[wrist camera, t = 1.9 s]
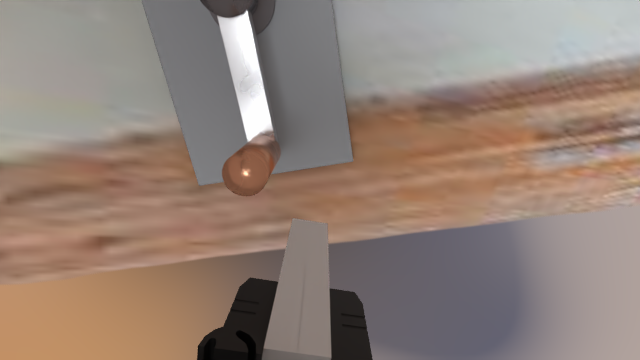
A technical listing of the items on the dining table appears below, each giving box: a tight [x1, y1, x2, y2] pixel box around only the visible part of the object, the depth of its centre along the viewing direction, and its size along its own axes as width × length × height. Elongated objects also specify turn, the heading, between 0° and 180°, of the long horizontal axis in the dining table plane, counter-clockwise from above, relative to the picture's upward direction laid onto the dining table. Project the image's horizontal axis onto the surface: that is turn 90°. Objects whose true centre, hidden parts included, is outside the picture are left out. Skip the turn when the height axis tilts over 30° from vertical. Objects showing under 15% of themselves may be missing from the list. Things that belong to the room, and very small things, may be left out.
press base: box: [142, 0, 353, 186], centre depth 28 cm, size 25×17×4 cm
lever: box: [200, 0, 281, 196], centre depth 22 cm, size 22×4×11 cm, turn 9°
